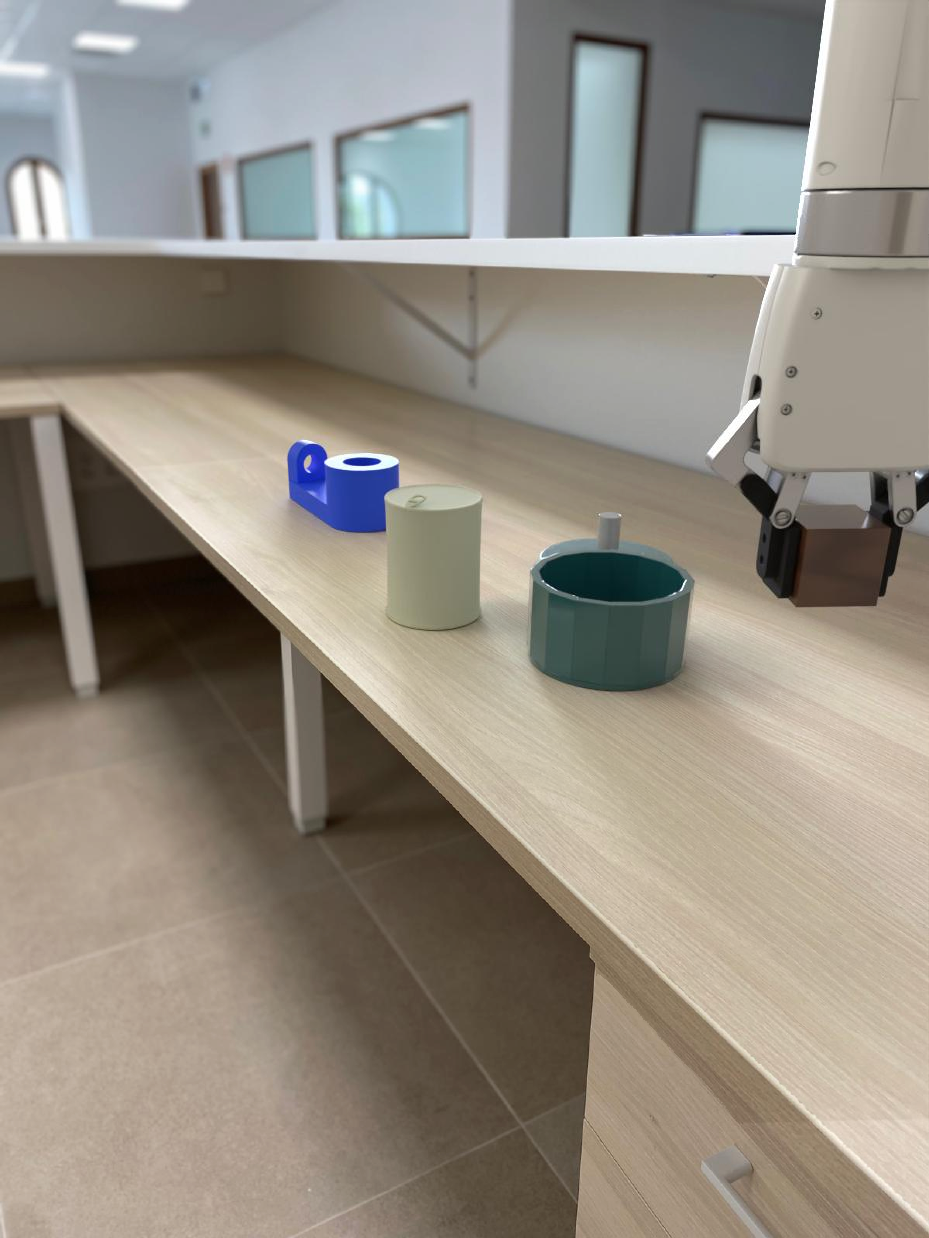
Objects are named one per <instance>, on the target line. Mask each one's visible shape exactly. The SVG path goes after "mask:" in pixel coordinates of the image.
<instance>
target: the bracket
mask: <svg viewBox="0 0 929 1238" xmlns="http://www.w3.org/2000/svg"><path fill="white" fill-rule="evenodd" d="M309 456H310V459H311V460H310V463H309V465H308V466H307V467H306V468H305V461H306V459H307V458H308V457H309ZM286 461H287V473H288V474H287V476H288V477H287V478H288V492H289V499H291V500H292V501H293V502H294V503H296V504H297V505H299V506H300V507H302V508H303V509H305V510H306V511H307V512H309V513H310V514H312V515H313V516H315V517H317V519H319V520H321V521H322V522H324V523H325V524H327V526H329V527H330V528H332V529H335V530H339V531H344V532H348V533H349V532H350V533H352V532H353V533H373V532H374V533H375V532H380V531H386V510H385V500H384V497H385V495H386V494H387V493H388V492H389V491H391V490H393V489H396V488H400V460H399V459H398V458H397V457H394V456H392V455H387V454H381V453H372V452H371V453H369V452H361V453H360V452H355V453H345V454H339V455H335V456H331V457H328V453H327V451H326V449H325V448H324V447H323V446H322V445H321V444H318V443H316V442H314V441H310V440H307V439H301V440H297V441H296V442H294V443H293V444H292V445H291V446H290V447H289V450H288V452H287V458H286Z"/></svg>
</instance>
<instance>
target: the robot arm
mask: <svg viewBox="0 0 929 1238" xmlns="http://www.w3.org/2000/svg"><path fill="white" fill-rule="evenodd" d="M820 39H821V40H820V49H819V56H818V62H817V63H818V64H817V72H816V79H815V86H814V87H815V88H814V93H813V94H814V95H813V101H812V102H813V103H812V112H811V119H810V126H809V133H808V140H807V147H806V156H805V162H804V163H805V164H804V170H803V178H802V185H801V191H802V193H801V195H800V201H799V202H800V203H799V209H798V218H797V224H796V225H797V226H796V234H795V241H794V249H793V252H794V253H793V256H792V263H775V264H774V267H773V268H772V272H771V275H770V277H769V281H768V284H767V287H766V290H765V293H764V297H763V300H762V304H761V307H760V312H759V315H758V319H757V323H756V327H755V332H754V335H753V340H752V344H751V349H750V353H749V357H748V363H747V367H746V372H745V377H744V382H743V388H742V393H741V398H740V399H741V400H740V406H739V412H738V415H737V416H736V417H735V418H734V420H733V421H732V422H731V424H730V425H728V427H727V428H726V430H725V431H724V432H723V433H722V434H721V436H719V438H718V439H717V441H716V442H715V443H714V444H713V446H712V447H711V448H710V449H709V451H708V452H707V453H706V455H705V457H704V462H705V464H706V466H707V467H708V468H709V469H711V470H712V471H713V472H714V473H715V474H716V475H718V476H719V477H720V478H721V479H723V480H724V481H726V482H727V483H728V484H730V485H731V486H732V487H734V488H735V489H736V490H737V491H739V492H740V493H741V494H742V495H743V496H744V497H745V499H746V500H747V501H748V502H749V503H750V504H751V505H752V507H754V509H755V510H756V511H757V512H758V513H759V514H760V515H761V522H760V528H759V529H760V530H759V536H758V537H759V538H758V544H757V552H756V559H755V560H756V561H755V570H756V574H757V576H758V577H759V578H760V579H761V580H762V581H761V582H763V584H764V585H765V586H766V587H767V588H768V589H769V590H770V592H771V593H772V594H774V596H775V597H776V598H777V600H779V599H782V600H783V599H788V598H789V597H790V596H791V595H792V593H793V586H794V579H795V573H796V566H797V559H798V553H799V546H800V539H801V531H800V530H799V529H798V528H797V527H796V526H795V518H796V512H797V510H798V507H799V505H801V502H802V499H803V496H804V495H805V491H806V489H807V487H808V484H809V481H810V479H811V476H812V474H813V473H868V474H869V489H870V506H869V509H868V510H865V511H866V512H867V513H869V514H870V515H872V516H873V517H875V518H876V519H878V520H879V521H881V522H882V523H884V524H885V525H887V526H888V527H890V528H891V532H890V537H889V543H888V548H887V553H886V558H885V564H884V569H883V574H882V580H881V585H880V590H879V595H878V598H883V597H885V595H886V592H887V588H888V583H889V578H890V577H892V576H893V575H894V574H895V571H896V567H897V560H898V556H899V552H900V551H899V550H900V545H901V541H902V535H903V530H904V528H906V527H909V526H911V525H912V524H913V523H914V522H915V521H916V519H917V515H918V514H917V513H918V512H919V511H920V510H921V509H923V508H924V507H925V506H927V505H928V503H929V0H826V1H825V9H824V16H823V25H822V32H821V38H820ZM748 452H750V453H753V454H755V455H760V458H761V461H762V462H763V463H764V464H765V465H766V466H767V468H766V471H765V473H764V476H763V477H761V476H760V475H759V474H758V473H757V472H755V471H754V470H753V469H751V467H749V466H748V465H747V464H746V463H745V457H746V454H747V453H748Z"/></svg>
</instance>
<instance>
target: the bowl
mask: <svg viewBox="0 0 929 1238" xmlns="http://www.w3.org/2000/svg"><path fill="white" fill-rule="evenodd" d="M528 582H529V583H528V604H527V605H528V607H527V627H526V628H527V629H526V646H527V656H528V659H529V661H530V662H531V663H532V665H533V666H534V667H535V668H536V669H538V670H539V671H540V672H542V673H543V674H545V675H546V676H549V677H550V678H552V679H555V680H557V681H559V682H562V683H565V684H568V685H572V686H576V687H581V688H585V689H592V690H597V691H598V690H599V691H610V692H611V691H615V692H622V691H624V692H625V691H637V690H644V689H651V688H654V687H658V686H661V685H664V684H666V683H668V682H670V681H673V680H674V679H675V678H677V677H678V676H679V675H680V673H682V671H683V669H684V666H685V661H686V658H687V651H688V643H689V634H690V626H691V619H692V618H691V617H692V610H693V602H694V592H695V586H696V581H695V579H694V578H693V577H692V576H691V573H690V572H689V571H688V570H687V569H685V568H684V567H682V566H680V565H677V564H675V562H674V563H672V562H670V561H668V560H665V559H661V558H657V557H654V556H650V555H646V554H643V553H636V552H628V551H620V550H576V551H569V552H562V553H557V554H554V555H552V556H549V557H546V558H544V559H541V560H540V559H538V561H537V562H535V564H534V565H533V566H532V567H531V568H530V569H529V581H528Z"/></svg>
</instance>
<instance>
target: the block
mask: <svg viewBox="0 0 929 1238" xmlns="http://www.w3.org/2000/svg"><path fill="white" fill-rule="evenodd" d="M866 511H867V510H865V509H863V508H862V507H860V506H858V505H857V504H856V503H855V504H854V503H853V504H852V503H851V504H800V505H799V507H798V510H797V512H796V518H795V526H796V527H797V528H798V529H799V530H800V531H801V539H800V546H799V553H798V559H797V566H796V573H795V579H794V586H793V593H792V595H791V596H790V597H789V598H787V600H789V602H790V603H791V604H792V605H793V606H794V607H795V608H847V607H849V608H851V607H877V605H878V601H879V597H878V595H879V590H880V585H881V580H882V574H883V569H884V564H885V558H886V553H887V548H888V543H889V537H890V532H891V528H890V527H888V526H887V525H885V524H884V523H882V522H881V521H879V520H878V519H876V518H875V517H873V516H872V515H870V514H869V513H867V512H866Z"/></svg>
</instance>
